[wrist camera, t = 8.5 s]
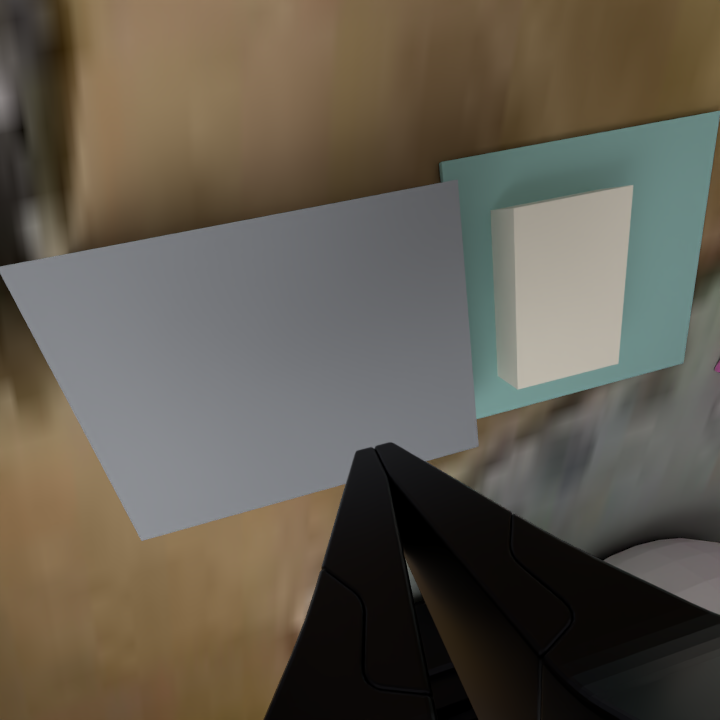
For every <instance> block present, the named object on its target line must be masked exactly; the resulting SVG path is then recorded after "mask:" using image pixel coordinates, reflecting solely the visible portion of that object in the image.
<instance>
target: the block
mask: <svg viewBox="0 0 720 720" xmlns="http://www.w3.org/2000/svg"><path fill="white" fill-rule="evenodd" d="M632 197H633V185H629V186H621V187H613V188H605V189H598V190H593V191H588V192H583V193H578V194H573V195H567V196H562V197H557V198H552V199H547V200H542V201H537V202H531V203H526V204H521V205H516V206H511V207H506V208H501V209H495V210H490V213H491V236H492V258H493V281H494V304H495V327H496V350H497V373H498V376H499V377H500V378H502V379H503V380H504V381H506V382H507V383H509V384H510V385H512V386H513V387H515V388H516V389H522V388H526V387H530V386H534V385H538V384H542V383H545V382H549V381H553V380H557V379H561V378H565V377H569V376H573V375H577V374H580V373H584V372H588V371H592V370H596V369H600V368H604V367H608V366H611V365H615V364H618V362H619V350H620V339H621V327H622V315H623V303H624V291H625V280H626V268H627V256H628V244H629V232H630V220H631V209H632Z"/></svg>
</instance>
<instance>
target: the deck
mask: <svg viewBox="0 0 720 720" xmlns="http://www.w3.org/2000/svg"><path fill="white" fill-rule="evenodd" d="M0 274H1V276H2V277H3V279H4V281H5V283H6V285H7V287H8V289H9V291H10V293H11V294H12V296H13V298H14V300H15V302H16V304H17V306H18V308H19V310H20V311H21V313H22V315H23V317H24V319H25V321H26V323H27V325H28V327H29V329H30V330H31V332H32V334H33V336H34V338H35V340H36V342H37V344H38V346H39V347H40V349H41V351H42V353H43V355H44V357H45V359H46V361H47V363H48V365H49V366H50V368H51V370H52V372H53V374H54V376H55V378H56V380H57V382H58V383H59V385H60V387H61V389H62V391H63V393H64V395H65V397H66V399H67V400H68V402H69V404H70V406H71V408H72V410H73V412H74V414H75V416H76V418H77V419H78V421H79V423H80V425H81V427H82V429H83V431H84V433H85V435H86V436H87V438H88V440H89V442H90V444H91V446H92V448H93V450H94V452H95V454H96V455H97V457H98V459H99V461H100V463H101V465H102V467H103V469H104V471H105V472H106V474H107V476H108V478H109V480H110V482H111V484H112V486H113V488H114V490H115V491H116V493H117V495H118V497H119V499H120V501H121V503H122V505H123V507H124V508H125V510H126V512H127V514H128V516H129V518H130V520H131V522H132V524H133V525H134V527H135V529H136V531H137V533H138V535H139V537H140V539H141V541H143V540H146V539H150V538H154V537H157V536H161V535H164V534H168V533H171V532H175V531H179V530H182V529H186V528H189V527H193V526H196V525H200V524H204V523H207V522H211V521H214V520H218V519H221V518H225V517H229V516H232V515H236V514H239V513H243V512H246V511H250V510H254V509H257V508H261V507H264V506H268V505H271V504H275V503H278V502H282V501H286V500H289V499H293V498H296V497H300V496H303V495H307V494H311V493H314V492H318V491H321V490H325V489H328V488H332V487H336V486H339V485H343V484H346V482H347V478H348V475H349V471H350V468H351V465H352V461H353V458H354V454H355V452H356V451H357V450H361V449H365V448H369V447H373V448H375V446H377V445H380V444H384V443H388V442H393V443H395V444H396V445H398V446H400V447H402V448H403V449H405V450H407V451H408V452H410V453H412V454H413V455H415V456H417V457H419V458H420V459H422V460H424V461H428V460H432V459H435V458H439V457H443V456H446V455H450V454H453V453H457V452H460V451H464V450H468V449H471V448H475V447H478V433H477V420H476V407H475V394H474V381H473V369H472V356H471V343H470V330H469V317H468V304H467V291H466V279H465V266H464V253H463V240H462V227H461V214H460V202H459V189H458V180H452V181H447V182H442V183H437V184H431V185H426V186H421V187H416V188H410V189H405V190H400V191H395V192H390V193H384V194H379V195H374V196H369V197H363V198H358V199H353V200H348V201H342V202H337V203H332V204H327V205H321V206H316V207H311V208H306V209H300V210H295V211H290V212H285V213H280V214H274V215H269V216H264V217H259V218H253V219H248V220H243V221H238V222H232V223H227V224H222V225H217V226H211V227H206V228H201V229H196V230H190V231H185V232H180V233H175V234H169V235H164V236H159V237H154V238H149V239H143V240H138V241H133V242H128V243H122V244H117V245H112V246H107V247H101V248H96V249H91V250H86V251H80V252H75V253H70V254H65V255H59V256H54V257H49V258H44V259H39V260H33V261H28V262H23V263H18V264H12V265H7V266H2V267H0Z"/></svg>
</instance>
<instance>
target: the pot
mask: <svg viewBox="0 0 720 720" xmlns="http://www.w3.org/2000/svg"><path fill="white" fill-rule="evenodd" d="M603 561H605V562H607V563H609V564H611V565H613V566H615V567H618V568H620V569H622V570H624V571H626V572H628V573H630V574H632V575H634V576H636V577H639V578H641V579H643V580H645V581H647V582H649V583H651V584H653V585H655V586H658V587H660V588H662V589H664V590H666V591H668V592H670V593H672V594H674V595H676V596H679V597H681V598H683V599H685V600H687V601H689V602H691V603H693V604H696V605H698V606H700V607H702V608H705V609H707V610H709V611H711V612H714V613H717V614H719V615H720V543H717V542H710V541H702V540H693V539H684V538H676V539H664V540H657V541H653V542H649V543H645V544H641V545H637V546H634V547H632V548H629V549H627V550H624V551H622V552H620V553H617V554H615V555H612V556H610V557H608V558H607V559H605V560H603Z"/></svg>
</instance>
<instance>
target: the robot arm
mask: <svg viewBox="0 0 720 720" xmlns="http://www.w3.org/2000/svg"><path fill="white" fill-rule="evenodd" d="M405 559H406V560H405ZM406 561H407V563H408V565H409V567H410V570H411V572H412V574H413V576H414V579H415V581H416V583H417V585H418V587H419V590H420V592H421V594H422V596H423V598H424V601H421V602H418V603H415V604H414V599H413V594H412V590H411V585H410V580H409V575H408V570H407V565H406ZM264 720H720V615H719V614H717V613H714V612H711V611H709V610H707V609H705V608H702V607H700V606H698V605H696V604H693V603H691V602H689V601H687V600H685V599H683V598H681V597H679V596H676V595H674V594H672V593H670V592H668V591H666V590H664V589H662V588H660V587H658V586H655V585H653V584H651V583H649V582H647V581H645V580H643V579H641V578H639V577H636V576H634V575H632V574H630V573H628V572H626V571H624V570H622V569H620V568H618V567H615V566H613V565H611V564H609V563H607V562H605V561H603V560H601V559H599V558H597V557H595V556H593V555H591V554H589V553H587V552H585V551H583V550H581V549H579V548H577V547H575V546H573V545H570V544H568V543H566V542H564V541H562V540H561V539H559V538H557V537H555V536H553V535H552V534H550V533H548V532H546V531H544V530H543V529H541V528H539V527H537V526H535V525H533V524H532V523H530V522H528V521H527V520H525V519H523V518H521V517H520V516H518V515H516V514H513V515H512V512H511V511H509V510H507V509H506V508H504V507H502V506H501V505H499V504H497V503H496V502H494V501H492V500H490V499H489V498H487V497H485V496H484V495H482V494H480V493H478V492H477V491H475V490H473V489H472V488H470V487H468V486H466V485H465V484H463V483H461V482H460V481H458V480H456V479H455V478H453V477H451V476H449V475H448V474H446V473H444V472H443V471H441V470H439V469H437V468H436V467H434V466H432V465H431V464H429V463H427V462H425V461H424V460H422V459H420V458H419V457H417V456H415V455H413V454H412V453H410V452H408V451H407V450H405V449H403V448H402V447H400V446H398V445H396V444H395V443H393V442H388V443H384V444H380V445H377V446H375V448H373V447H369V448H365V449H361V450H357V451H356V452H355V454H354V458H353V461H352V465H351V468H350V471H349V475H348V478H347V482H346V485H345V489H344V492H343V495H342V499H341V502H340V506H339V509H338V513H337V516H336V519H335V523H334V526H333V530H332V533H331V537H330V540H329V543H328V547H327V550H326V554H325V557H324V561H323V564H322V570H321V571H320V574H319V577H318V580H317V584H316V587H315V591H314V594H313V597H312V600H311V603H310V606H309V609H308V612H307V615H306V618H305V621H304V624H303V626H302V629H301V631H300V634H299V636H298V639H297V641H296V644H295V646H294V649H293V651H292V654H291V656H290V659H289V661H288V663H287V666H286V668H285V670H284V673H283V675H282V677H281V680H280V682H279V684H278V687H277V689H276V691H275V694H274V696H273V698H272V701H271V703H270V705H269V708H268V710H267V713H266V715H265V717H264Z"/></svg>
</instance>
